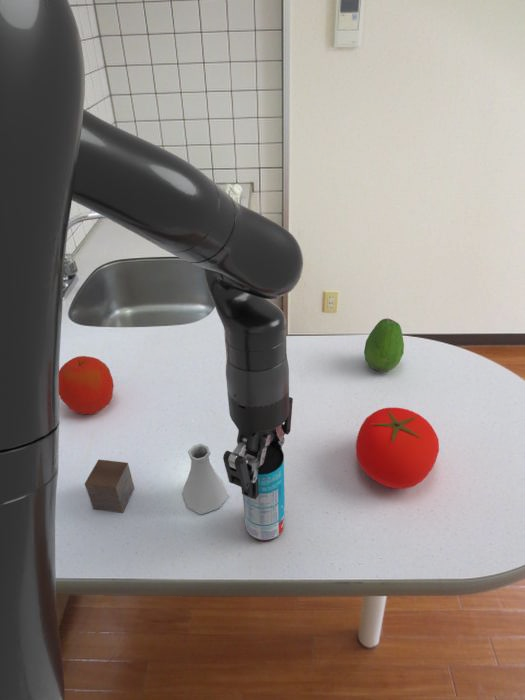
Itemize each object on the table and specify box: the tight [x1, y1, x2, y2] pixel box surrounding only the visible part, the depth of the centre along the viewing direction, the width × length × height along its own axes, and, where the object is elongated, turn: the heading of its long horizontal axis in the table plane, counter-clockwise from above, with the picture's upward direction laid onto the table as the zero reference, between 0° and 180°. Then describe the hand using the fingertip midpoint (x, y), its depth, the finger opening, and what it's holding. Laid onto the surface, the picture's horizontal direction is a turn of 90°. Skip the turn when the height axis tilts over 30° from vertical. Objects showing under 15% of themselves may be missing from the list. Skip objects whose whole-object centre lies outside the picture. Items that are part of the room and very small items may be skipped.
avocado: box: [363, 317, 405, 372], centre depth 107 cm, size 8×8×12 cm
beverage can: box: [242, 442, 286, 542], centre depth 75 cm, size 6×6×15 cm
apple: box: [59, 355, 115, 415], centre depth 100 cm, size 10×10×12 cm
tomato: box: [355, 407, 440, 489], centre depth 84 cm, size 14×13×10 cm
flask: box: [181, 443, 230, 515], centre depth 81 cm, size 7×7×10 cm
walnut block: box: [84, 459, 135, 514], centre depth 83 cm, size 5×5×6 cm
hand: (262, 478), depth 73 cm, fingers closed on beverage can, 6 cm apart
